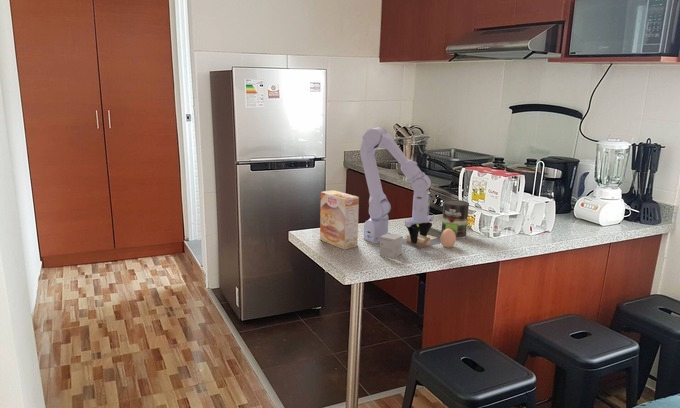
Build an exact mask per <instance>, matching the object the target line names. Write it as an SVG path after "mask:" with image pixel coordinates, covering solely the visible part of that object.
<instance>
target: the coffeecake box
mask: <svg viewBox="0 0 680 408" xmlns="http://www.w3.org/2000/svg"><path fill="white" fill-rule="evenodd" d="M359 201H360V197H359V196H356V195H354V194H353V195H352V194H349V193H345V192H342V191H338V190H334V189H333V190H332V189H331V190H324V191H321V192H320V209H319V210H320V214H319V215H320V219H319V222H320V223H319V228H320V230H319V241H321V240H322V241H321V242H324V243H326V242H327V243H326V244H328V245H331V246H334V247H337V248H339V249H341V250H349V249H351V248H352V249H353V248H357V247H358V241H359V240H358V236H359V235H358V234H359V210H360V207H359V206H360V204H359V203H360V202H359Z"/></svg>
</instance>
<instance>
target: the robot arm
mask: <svg viewBox="0 0 680 408" xmlns="http://www.w3.org/2000/svg"><path fill="white" fill-rule="evenodd" d="M360 145H361V146H360V147H359V148H360V149H359V155H360V158H361V162H362V163H361V164H362V168H363V171H364V176H365V180H366V184H367V188H368V189H367V190H368V193H369V199H368V205H369V206H368V214H369V216H370V217H369V219H368V220H365V222H364V224H363V237H362V238H361V239H362V240H365V241H368V242H371V243H374V244H379V243H380V239H381V236H383V235H385V234H387V233H389V215H388V214H389V213H390V212H391V210H392V207H391V203H390V202H389V200H388V198H387V195H386V194H385V193H384V191H383V187H382V186H383V185H382V182H381V178H380V172H379V169H378V165H377V161H376V156H375V152H376V151H377V150H378V149H379V148H382V149H385V150H387V151H388V152H389V153H390V154H391V155H392V156H393V158H394V159H395V160H396V161H397V162H398V163H399V165H400V167H399V169H400V171H401V172H402V173H403V174H404V176H405V177H406V179H407V180H408V181H409V182H410V183H411V188H412V190H413V197H412V198H413V199H412V215H411V216H412V217H411V218H409V219H407V220H405V221H404V227H406V228H407V230H408V235H409V234H410V238H411V243H415V244H416V243H417V239H418V234H419V235H422V236H427V234H429V231H430V229H431V227H433V223H432V222H434V220H435V219H434V215H430V214H429V216H427V215H428V199H429V196H428V195H429V192H430V187H431V185H432V184H431V183H432V181H431V178H430V177H429V176H428V175H426V173H425V172H423V171H422V170H421V169H420V167H419V166H418V162H417V161H414V160H413V159H408V158H407V156H406V154H405V153H404V152H403V151H402V149H401V147H399V145H398V144H397V143H396V141H395V140H394V138H393V137H392V135H391V134H390V133H389V132H388V131H387V129H386V128H384V127H382V126H378V127H374V128H369V129H367V130H366V132H365V133H364V134H363V136H362V141H361V144H360ZM417 224H418V225H419V227H417ZM419 230H420V231H419Z"/></svg>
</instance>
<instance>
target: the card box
mask: <svg viewBox="0 0 680 408" xmlns="http://www.w3.org/2000/svg"><path fill="white" fill-rule="evenodd" d="M406 239H407V241H406V243H409V244H413V245H416V246H419V247H422V249H424V248H423V247H425V248H427V247H426V246H429V247H431V246H430V238H429V237H426V236H422V235H420V233H418V239H417V243H416V244H415V243H411V238H410V234H409V233H408V234H407V235H406Z"/></svg>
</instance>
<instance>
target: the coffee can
mask: <svg viewBox="0 0 680 408" xmlns="http://www.w3.org/2000/svg"><path fill="white" fill-rule="evenodd" d="M442 203H443V204H442V205H443V208H442V209H443V210H442V220H441V221H442V222H441V230H440V231H441V233H440V235H441V234H442V232H443V231H444V230H445V229H448V228H449V229H452V230H453V231H454V233H455V236H456V239H466V238H467V229H468V228H467V227H468V218H469V209H470V207H469V206H470V203H469V202H468V201H465V200H461V199H445V200H444V201H443V202H442Z"/></svg>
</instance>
